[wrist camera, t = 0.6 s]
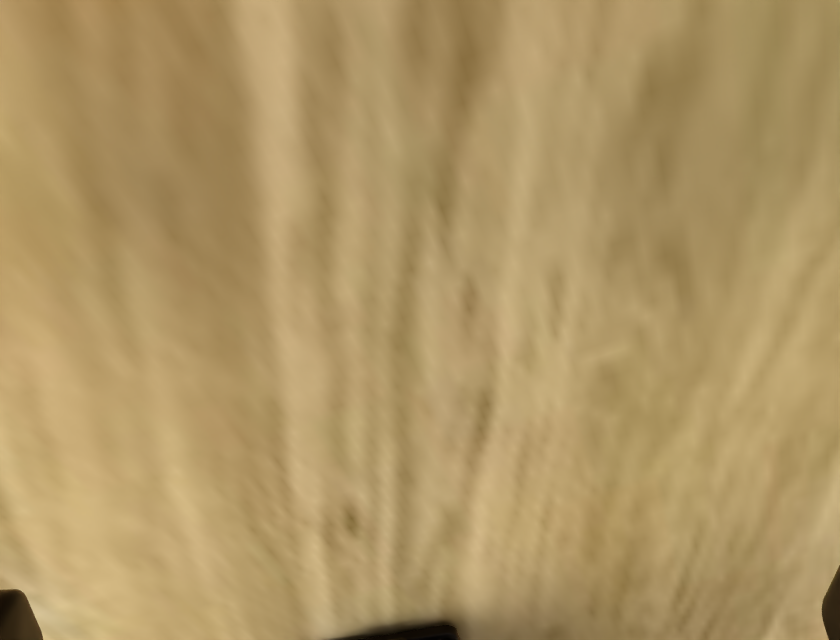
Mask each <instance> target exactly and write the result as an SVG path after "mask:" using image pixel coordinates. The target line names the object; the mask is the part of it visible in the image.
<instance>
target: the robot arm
mask: <svg viewBox="0 0 840 640" xmlns="http://www.w3.org/2000/svg"><path fill="white" fill-rule="evenodd" d="M822 617H823V622H824V626H825V629H826V632H827V635H828V638H829V640H840V566H839V568H838V570H837V572H836V574H835V576H834V578H833V580H832V582H831V584H830V587H829V589H828V591H827V593H826V595H825V597H824V600H823V604H822ZM0 640H43V636H42V632H41V630H40V627H39V625H38V623H37V620H36V618H35V616H34V614H33V611H32V609H31V607H30V604H29V602H28V600H27V597H26V596H25V594H24V593H23V592H21V591H20V590H17V589H10V590H0ZM358 640H460V638H459V634H458V631H457V629H456V628H455V627H453V626H449V625H443V626H437V627H431V628H425V629H419V630H413V631H407V632H401V633H395V634H389V635H383V636H376V637H370V638H364V639H358Z"/></svg>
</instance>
